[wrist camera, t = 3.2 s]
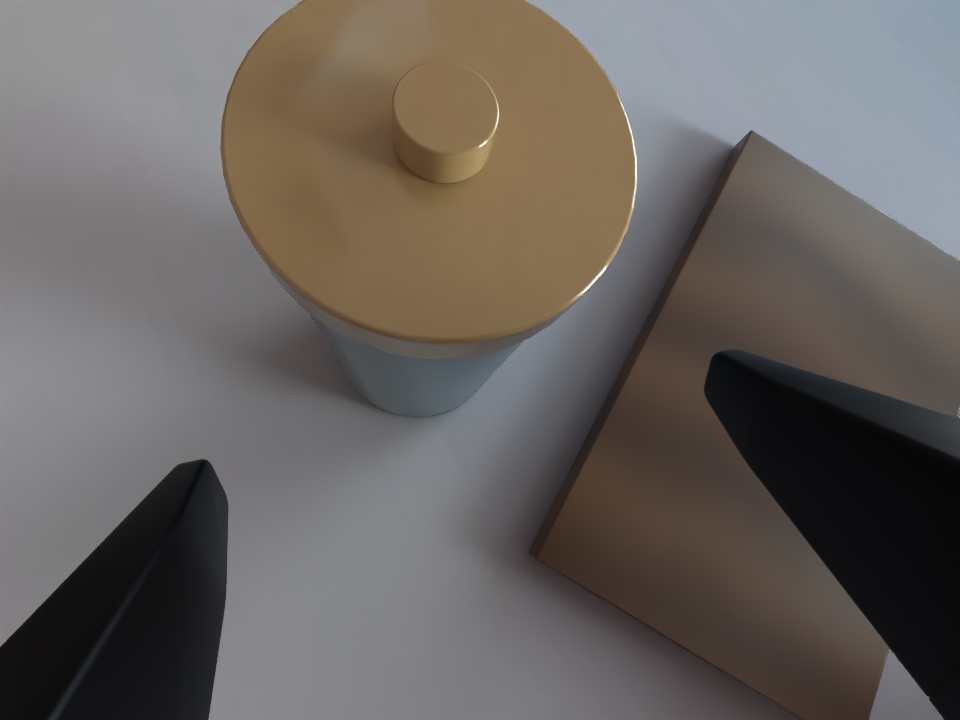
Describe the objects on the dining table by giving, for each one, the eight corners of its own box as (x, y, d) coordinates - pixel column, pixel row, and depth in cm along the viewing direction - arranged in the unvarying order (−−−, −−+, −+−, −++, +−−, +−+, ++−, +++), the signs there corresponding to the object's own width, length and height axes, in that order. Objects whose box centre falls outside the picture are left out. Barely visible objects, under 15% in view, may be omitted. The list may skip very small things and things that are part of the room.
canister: (446, 455, 20) (535, 424, 7) (296, 365, 20) (82, 150, 6) (528, 316, 21) (727, 72, 8) (391, 232, 21) (376, -149, 8)
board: (832, 737, 20) (859, 754, 18) (526, 553, 19) (534, 558, 18) (970, 291, 25) (997, 282, 24) (735, 144, 25) (751, 129, 24)
